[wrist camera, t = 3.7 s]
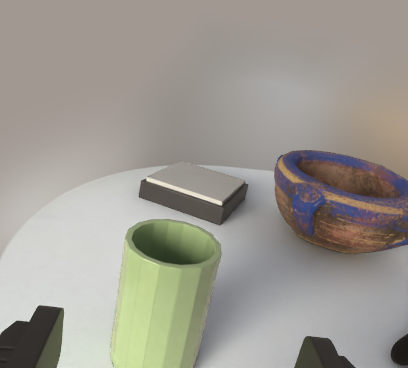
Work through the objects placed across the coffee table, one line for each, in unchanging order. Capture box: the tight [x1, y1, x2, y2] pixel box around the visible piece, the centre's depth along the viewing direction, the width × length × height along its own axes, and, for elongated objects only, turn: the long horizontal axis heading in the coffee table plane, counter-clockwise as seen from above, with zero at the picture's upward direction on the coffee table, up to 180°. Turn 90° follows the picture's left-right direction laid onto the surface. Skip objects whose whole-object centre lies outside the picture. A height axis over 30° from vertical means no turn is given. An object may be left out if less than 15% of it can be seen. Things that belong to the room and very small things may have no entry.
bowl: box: [274, 150, 408, 254], centre depth 49 cm, size 18×18×10 cm
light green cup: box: [110, 219, 222, 368], centre depth 25 cm, size 6×6×9 cm
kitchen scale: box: [139, 161, 248, 225], centre depth 55 cm, size 12×12×3 cm
